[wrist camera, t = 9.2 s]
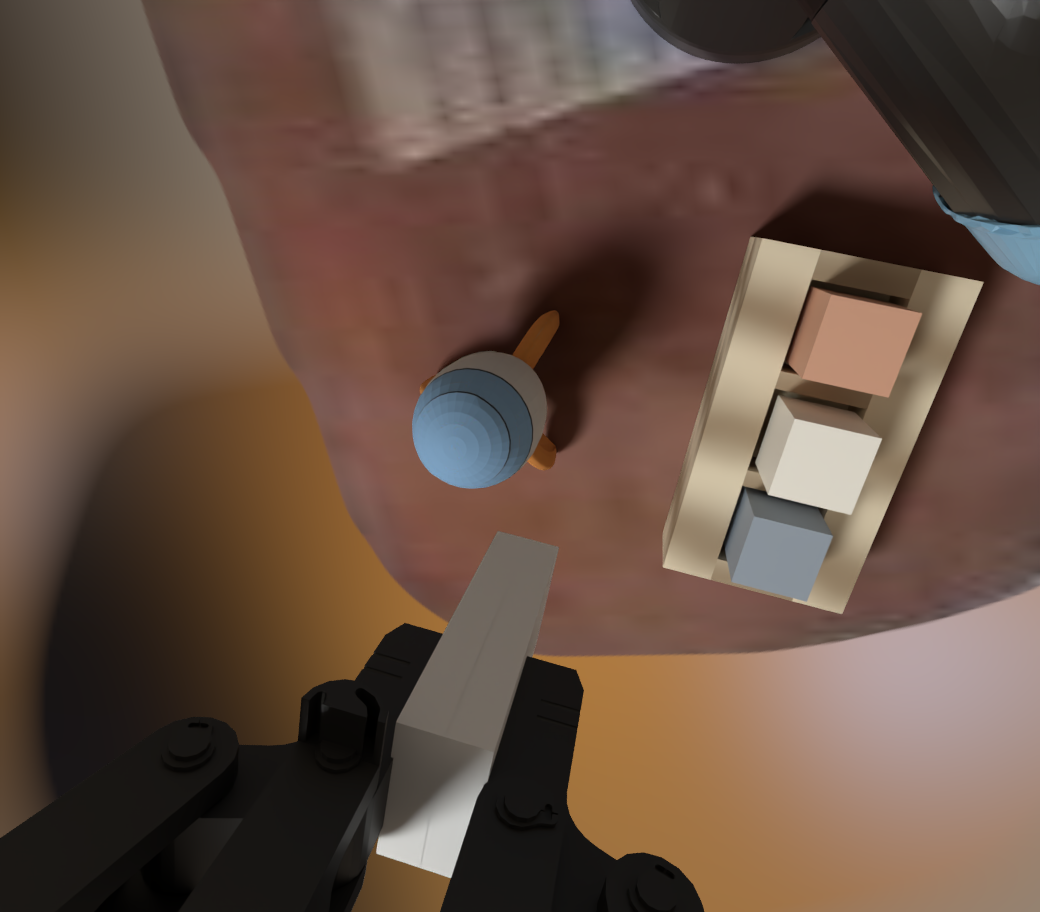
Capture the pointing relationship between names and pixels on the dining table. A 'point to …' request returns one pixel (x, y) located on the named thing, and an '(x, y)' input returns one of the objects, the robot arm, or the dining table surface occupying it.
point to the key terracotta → (851, 341)
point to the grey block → (776, 544)
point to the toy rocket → (486, 414)
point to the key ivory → (816, 454)
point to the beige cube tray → (765, 374)
